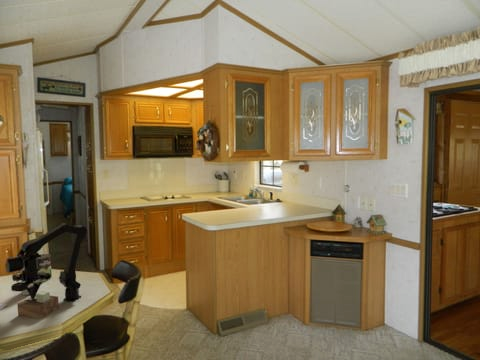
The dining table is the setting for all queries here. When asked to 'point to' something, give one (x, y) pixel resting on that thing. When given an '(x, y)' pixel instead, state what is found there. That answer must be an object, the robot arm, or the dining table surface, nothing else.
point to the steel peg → (31, 299)
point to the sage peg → (43, 296)
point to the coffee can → (44, 264)
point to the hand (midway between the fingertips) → (32, 298)
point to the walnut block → (37, 308)
